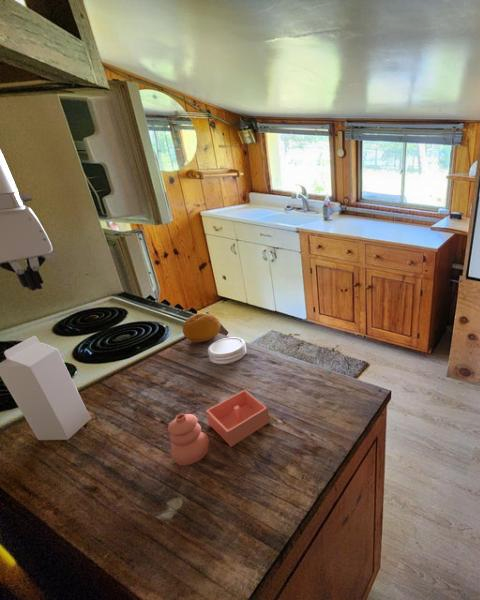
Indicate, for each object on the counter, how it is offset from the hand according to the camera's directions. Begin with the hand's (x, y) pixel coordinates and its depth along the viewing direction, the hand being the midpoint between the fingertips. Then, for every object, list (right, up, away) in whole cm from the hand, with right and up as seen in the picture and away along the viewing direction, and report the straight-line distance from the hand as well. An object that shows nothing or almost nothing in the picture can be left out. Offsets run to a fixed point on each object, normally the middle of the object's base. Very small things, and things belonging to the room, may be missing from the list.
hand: (34, 288), depth 71 cm
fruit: (+17, -15, +34) cm, 41 cm away
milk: (+8, -31, -1) cm, 32 cm away
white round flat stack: (+29, -19, +26) cm, 43 cm away
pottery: (+41, -32, -1) cm, 52 cm away
